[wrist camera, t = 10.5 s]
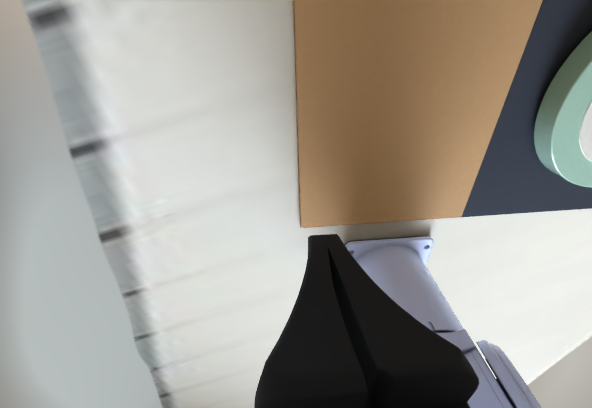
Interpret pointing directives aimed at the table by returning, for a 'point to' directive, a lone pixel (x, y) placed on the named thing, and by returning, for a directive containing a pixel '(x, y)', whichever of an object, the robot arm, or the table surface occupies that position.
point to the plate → (568, 119)
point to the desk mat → (428, 107)
